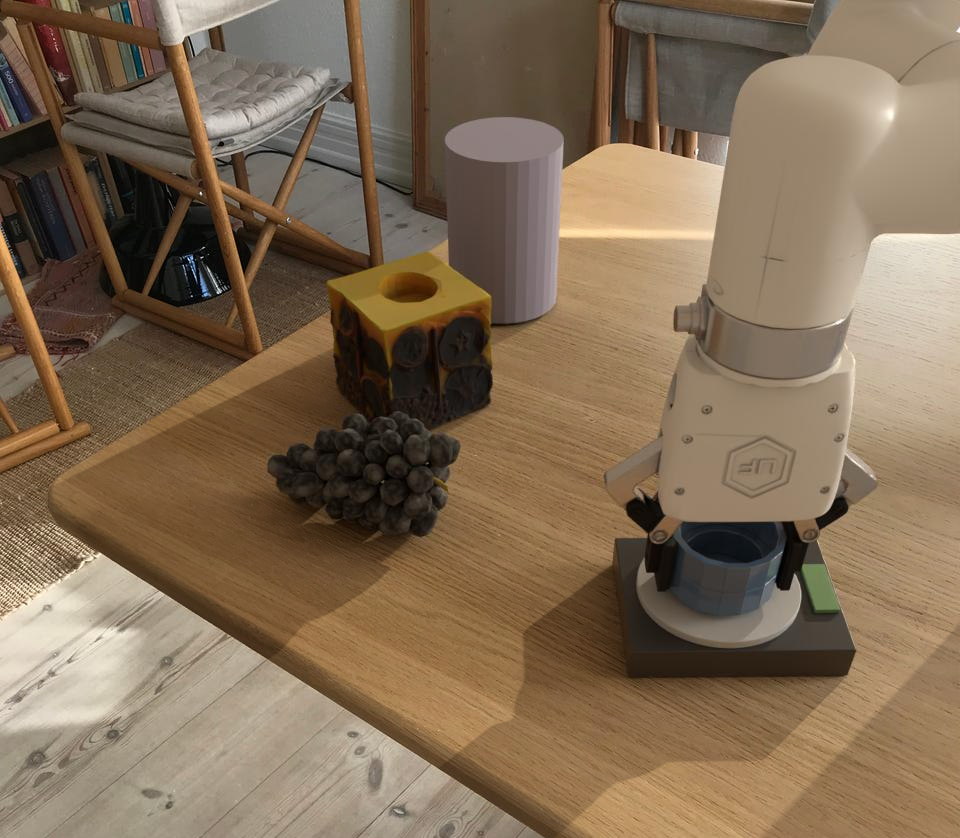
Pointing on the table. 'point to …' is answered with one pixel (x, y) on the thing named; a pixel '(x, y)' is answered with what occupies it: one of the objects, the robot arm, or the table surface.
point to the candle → (412, 340)
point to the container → (506, 212)
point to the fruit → (372, 473)
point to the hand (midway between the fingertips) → (719, 575)
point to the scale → (731, 626)
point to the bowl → (727, 565)
